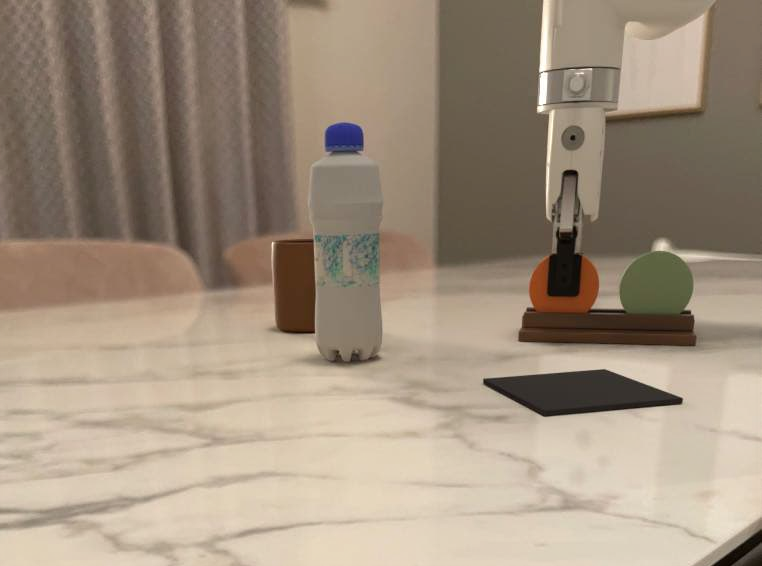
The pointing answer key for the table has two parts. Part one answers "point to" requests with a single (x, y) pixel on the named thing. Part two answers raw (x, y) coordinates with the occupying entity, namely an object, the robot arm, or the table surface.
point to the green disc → (656, 284)
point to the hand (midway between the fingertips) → (563, 293)
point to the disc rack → (608, 327)
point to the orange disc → (564, 304)
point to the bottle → (346, 246)
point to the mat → (579, 392)
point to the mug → (294, 284)
